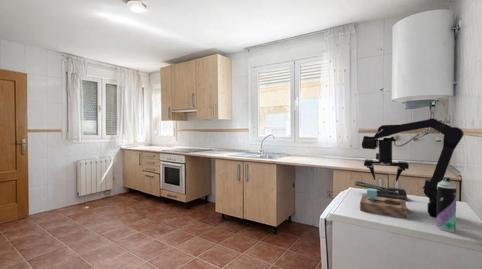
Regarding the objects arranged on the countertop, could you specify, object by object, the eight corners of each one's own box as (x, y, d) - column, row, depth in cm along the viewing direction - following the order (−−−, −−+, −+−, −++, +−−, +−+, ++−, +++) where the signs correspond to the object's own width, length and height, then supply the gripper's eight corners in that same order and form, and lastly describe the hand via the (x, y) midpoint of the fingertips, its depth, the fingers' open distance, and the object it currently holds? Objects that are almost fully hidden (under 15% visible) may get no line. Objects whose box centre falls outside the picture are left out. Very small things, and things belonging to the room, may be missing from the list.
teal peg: (376, 207, 113) (376, 189, 113) (376, 209, 110) (376, 191, 109) (367, 205, 115) (367, 188, 115) (367, 208, 112) (367, 190, 112)
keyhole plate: (404, 208, 111) (404, 200, 111) (406, 217, 100) (406, 208, 100) (362, 202, 120) (362, 194, 120) (360, 210, 109) (360, 202, 109)
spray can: (437, 229, 89) (438, 178, 88) (435, 224, 93) (436, 175, 92) (457, 233, 86) (458, 179, 85) (453, 227, 90) (454, 176, 89)
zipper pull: (355, 180, 141) (406, 185, 128) (355, 191, 141) (405, 197, 128) (354, 183, 133) (407, 189, 120) (354, 195, 133) (407, 201, 120)
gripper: (407, 149, 118) (406, 179, 118) (365, 147, 127) (365, 175, 128) (408, 151, 108) (408, 184, 109) (363, 149, 118) (363, 180, 119)
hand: (385, 180), depth 116 cm, fingers open, 9 cm apart
